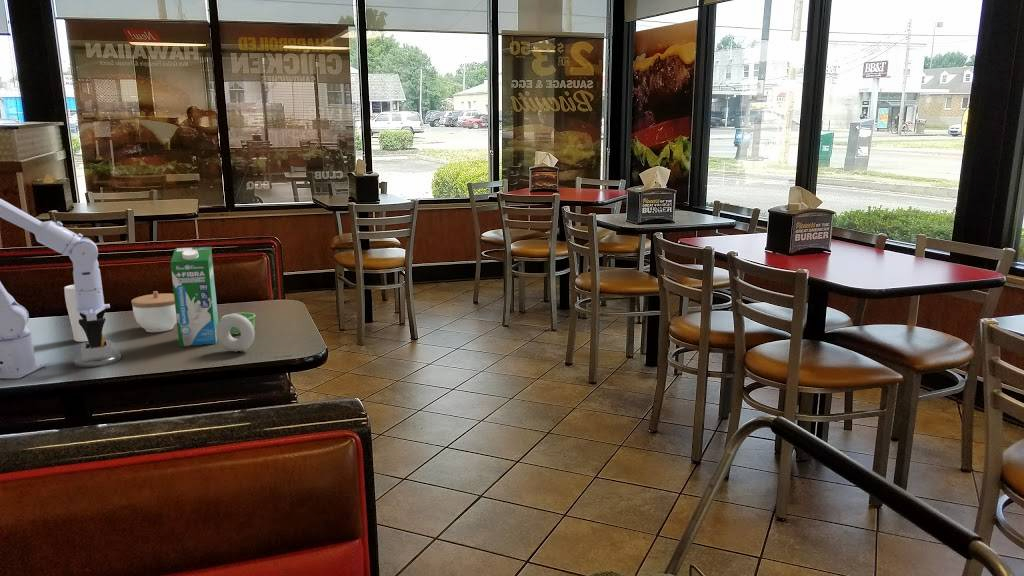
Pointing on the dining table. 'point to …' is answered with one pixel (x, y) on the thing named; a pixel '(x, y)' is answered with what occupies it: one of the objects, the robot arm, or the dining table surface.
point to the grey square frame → (97, 355)
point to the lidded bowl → (155, 311)
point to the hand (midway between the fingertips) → (95, 342)
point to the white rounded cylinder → (74, 314)
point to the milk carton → (194, 295)
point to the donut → (225, 336)
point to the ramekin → (249, 316)
